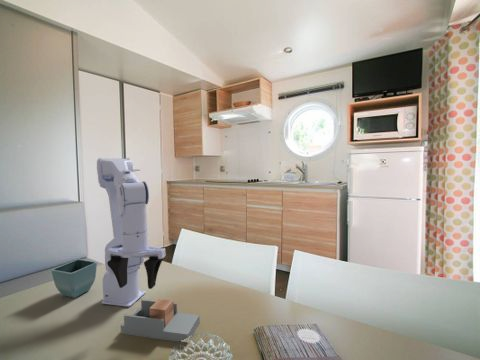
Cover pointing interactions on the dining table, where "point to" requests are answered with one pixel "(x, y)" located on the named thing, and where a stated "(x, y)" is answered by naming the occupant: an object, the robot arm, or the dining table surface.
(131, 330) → the slate trough
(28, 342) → the dining table surface
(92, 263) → the flower pot
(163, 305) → the terracotta block
